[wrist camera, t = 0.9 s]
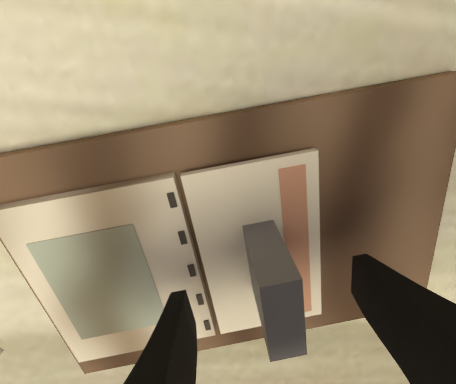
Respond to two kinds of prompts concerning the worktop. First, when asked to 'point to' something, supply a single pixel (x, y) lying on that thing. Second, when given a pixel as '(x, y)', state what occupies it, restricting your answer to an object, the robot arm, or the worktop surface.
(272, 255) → the stub
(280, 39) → the worktop surface
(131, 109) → the worktop surface
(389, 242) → the ticket board
